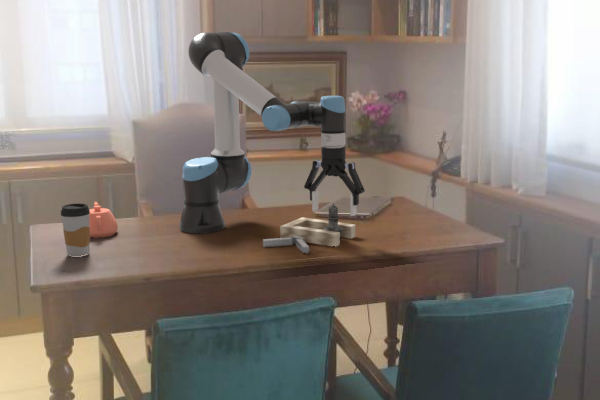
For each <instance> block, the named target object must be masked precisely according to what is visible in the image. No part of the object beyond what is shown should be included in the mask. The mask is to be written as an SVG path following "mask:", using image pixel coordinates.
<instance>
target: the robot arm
mask: <svg viewBox="0 0 600 400" xmlns="http://www.w3.org/2000/svg"><path fill="white" fill-rule="evenodd" d="M187 52H188V57H189V60H190V63H191V64H192V65H193V67H194V68H195V69H196V70H197V71H198V72H200V73H201V75H204V76H205V77H211V78H212V82H213V84H212V85H213V86H212V87H213V113H214V114H213V117H214V119H213V120H214V121H213V122H214V149H213V150H212V151H211V152H210V156H202V157H195V158H192V159H189V160H187V161H185V163H184V164H183V167H182V176H181V177H182V189H183V209H182V213H181V217H180V221H179V229H180V231H181V232H184V233H188V234H210V233H216V232H220V231H222V230H224V229H225V228H226V224H225V222H226V221H225V219H224V217H223V213H222V210H221V207H220V200H219V199H220V196H219V195H220V194H223V193H228V192H233V191H237V190H239V189H242V188H244V187H245V186H246V185H247V184H248V183H249V182H250V179H251V177H252V165H251V163H250V162H249V159H248V158H247V157H246V156H245V151H244V150H243V149H242V148H241V141H240V140H241V137H240V136H241V135H240V134H241V133H240V130H241V129H240V126H241V125H240V101H241V102H243V103H244V104H245V105H246V106H248V108H250V109H251V110H252V111H253V112H255V113H257V115H259V116H260V117H261V121H262V123H263V125H264V127H265V128H266V129H267V130H268V131H271V132H280V131H285V130H290V129H297V128H301V127H320V133H321V135H320V137H321V140H320V143H321V146H322V147H321V148H320V149H321V150H320V151H321V152H320V153H321V155H320V157H321V161H320V159H315V160H313V161H312V167H311V170H310V172H309V174H308V176H307V179H306V182H305V183H304V185H303V188H304V189H306V190H309V200H310V201H311V209H312V210H311V211H312V212H313V213H316V212H317V211H319V190H318V189H317V188H318V187H319V186H320V185H321V183H322V182H323V181H324V179H325V178H326V177H327V176H328V177H336V178H337V177H338V178H340V179H341V180H342V182H343V183H344V184H345V186H346V187H347V188H348V190H349V192H351V194H350V196H349V200H350V201H349V202H350V203H349V204H350V205H349V206H350V207H349V209H350V210H349V213H350V214H349V215H350V217H354V216H356V215H357V206H358V205H359V203H360V195H361V194H364V193H365V191H366V190H365V188H364V185H363V183H362V181H361V179H360V177H359V174H358V172H357V169H356V163H355V162H353V161H352V162H349V163H348V162H346V152H347V151H346V150H347V149H346V146H345V145H346V111H347V110H346V101H345V98H344V96H342V95H324V96H323V95H322V96H321V97H320V101H317V102H316V101H304V100H297V101H291V102H290V103H285V102H283V101H282V100H281V99H279V98H278V97H276V95H274V94H273V93H272V92H270V91H269V90H267V88H265V87H264V86H263V85H261V83H259V82H257V81H256V80H255V79H253V78H252V77H251V76H250V75H248V74H247V73H246V72H244V68H243V67H244V66H245V65H246V64H247V62H248V61H249V58H250V48H249V44H248V42H247V41H246V39H245V38H244V37H243V36H242V35H241V34H239V33H237V32H230V31H224V32H223V31H222V32H220V31H219V32H217V31H215V32H214V31H213V32H208V31H207V32H206V31H205V32H201V33H199V34H197V35H195V36H194V37H193V38H192V39H191V41H190V42H189V45H188V51H187ZM320 168H321V169H322V170H321V171H320V173H319V175H318V176H317V174H318V171H319V169H320ZM346 170H347V171H348V172H347V171H346ZM348 174H349V175H350V176H349V175H348ZM316 176H317V178H316ZM315 178H316V179H315Z"/></svg>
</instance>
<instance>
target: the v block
mask: <svg viewBox="0 0 600 400" xmlns="http://www.w3.org/2000/svg"><path fill="white" fill-rule="evenodd" d="M293 244H294V245H296V247H297V249H298V250H299V251H300V252H301V251H302V252H303V253H306V254H309V253H310V245H308V244H307V242H306V240H305V237H300V236H293V237H288V238H281V237H279V238H277V237H275V238H266V239H265V238H263V239H262V247H264V248H270V247H271V248H273V247H280V246H281V247H283V246H293ZM302 252H301V253H302ZM308 252H309V253H308ZM303 253H302V254H303Z"/></svg>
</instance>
